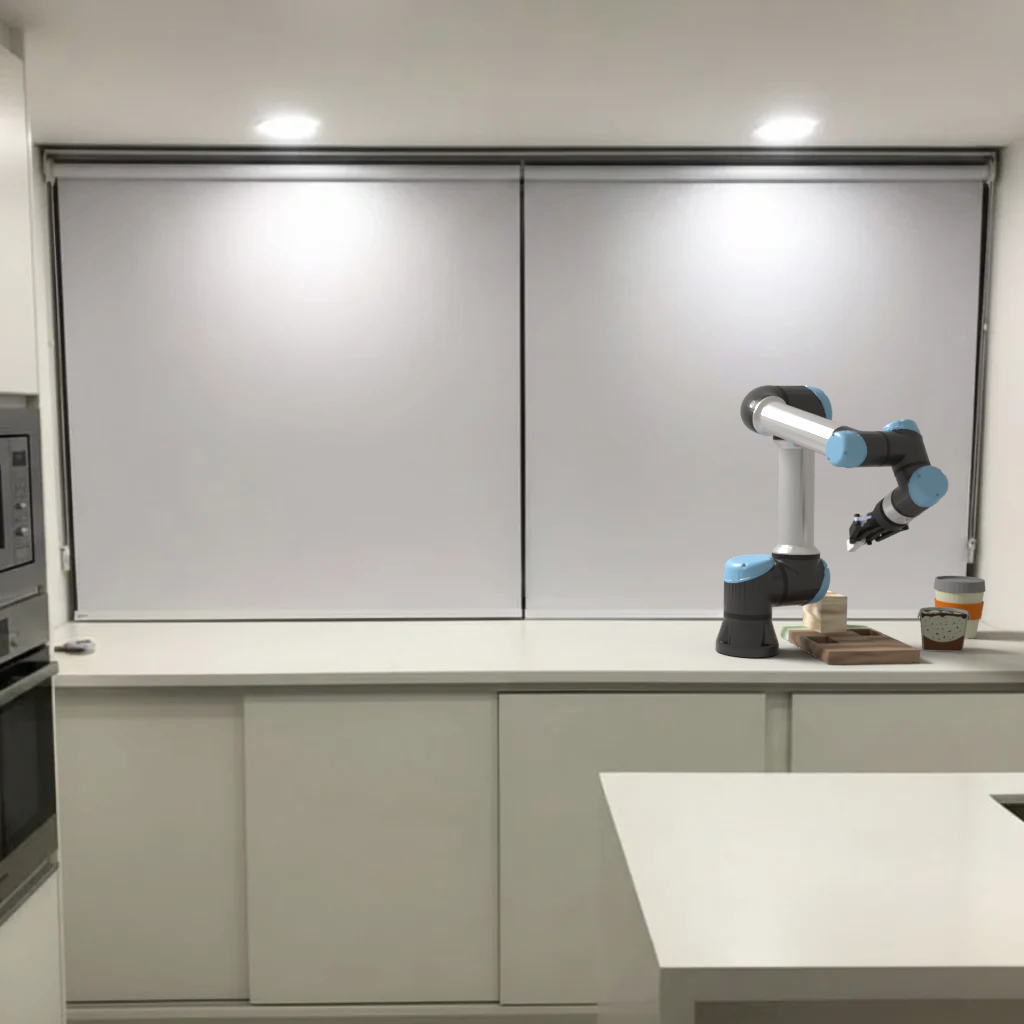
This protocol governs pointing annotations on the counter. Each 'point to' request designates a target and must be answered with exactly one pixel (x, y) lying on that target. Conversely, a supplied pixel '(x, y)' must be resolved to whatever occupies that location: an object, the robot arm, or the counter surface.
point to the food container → (943, 628)
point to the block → (827, 614)
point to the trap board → (851, 645)
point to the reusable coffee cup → (961, 597)
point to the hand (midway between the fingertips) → (850, 546)
